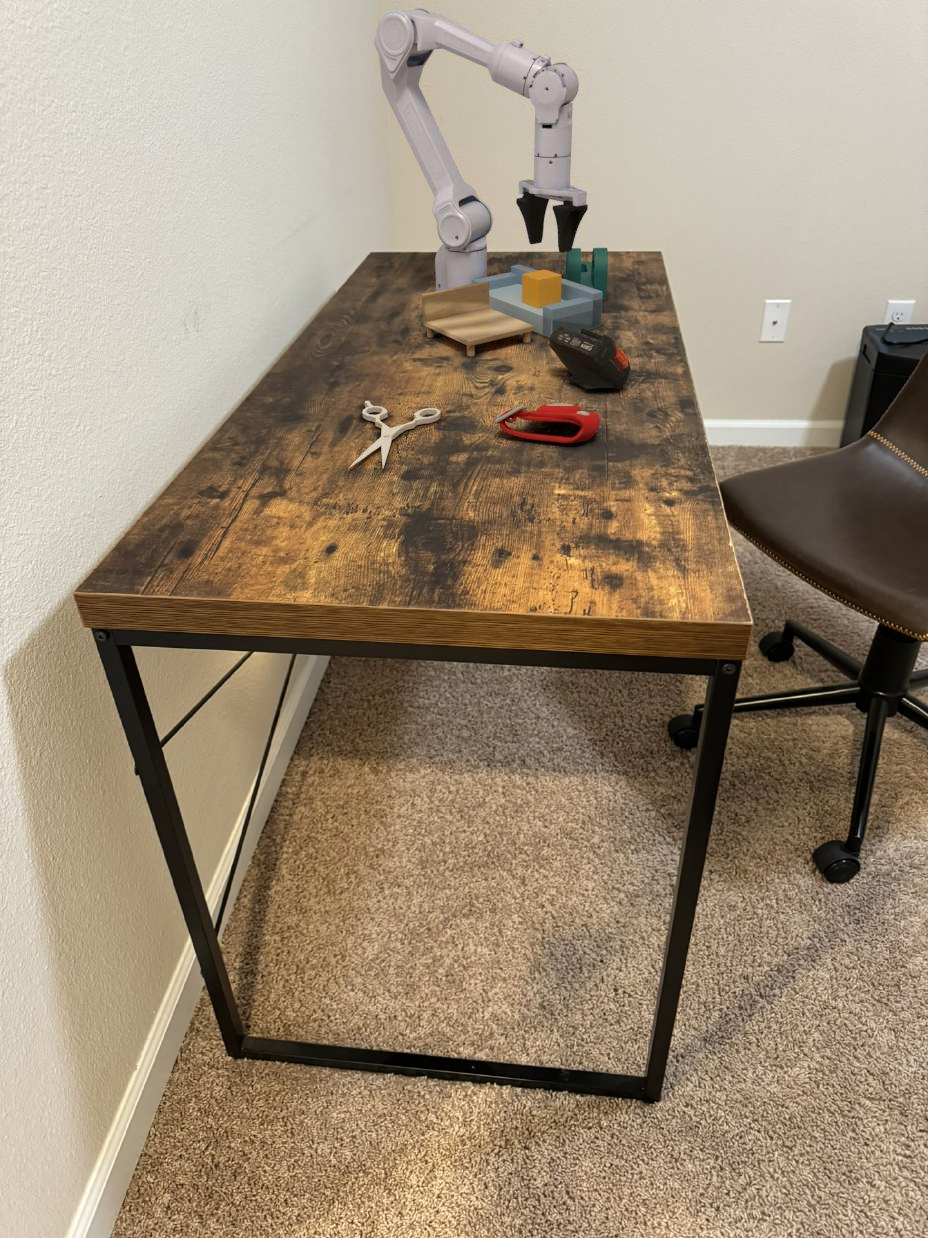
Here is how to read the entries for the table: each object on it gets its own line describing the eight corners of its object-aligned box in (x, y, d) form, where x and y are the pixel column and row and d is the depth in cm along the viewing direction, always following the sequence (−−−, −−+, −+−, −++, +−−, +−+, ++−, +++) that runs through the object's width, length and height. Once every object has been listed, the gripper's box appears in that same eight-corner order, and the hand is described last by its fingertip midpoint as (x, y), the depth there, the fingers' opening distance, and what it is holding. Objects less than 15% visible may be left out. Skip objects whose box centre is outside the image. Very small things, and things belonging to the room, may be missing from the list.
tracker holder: (559, 401, 117) (617, 404, 110) (558, 436, 119) (615, 441, 111) (486, 402, 110) (543, 406, 103) (486, 440, 111) (541, 446, 104)
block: (521, 302, 148) (522, 273, 145) (543, 297, 150) (544, 268, 147) (538, 308, 145) (539, 279, 142) (561, 303, 147) (562, 274, 144)
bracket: (605, 300, 158) (608, 252, 154) (566, 300, 158) (568, 253, 154) (598, 273, 173) (600, 229, 168) (562, 273, 173) (563, 229, 169)
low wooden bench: (423, 336, 145) (421, 293, 141) (486, 321, 150) (485, 280, 146) (469, 357, 136) (468, 313, 132) (534, 341, 141) (534, 298, 137)
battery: (611, 409, 122) (644, 369, 122) (580, 367, 117) (615, 325, 117) (559, 391, 131) (590, 354, 131) (529, 351, 126) (561, 313, 126)
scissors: (444, 403, 119) (410, 469, 103) (444, 409, 119) (411, 475, 103) (365, 400, 120) (320, 464, 104) (366, 406, 121) (320, 470, 105)
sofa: (472, 306, 157) (471, 273, 154) (519, 296, 162) (519, 264, 158) (551, 338, 142) (552, 302, 139) (600, 326, 146) (602, 291, 143)
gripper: (503, 152, 145) (503, 243, 153) (563, 163, 135) (559, 259, 143) (538, 147, 148) (536, 236, 156) (598, 157, 138) (593, 252, 146)
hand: (550, 247), depth 149 cm, fingers open, 7 cm apart
